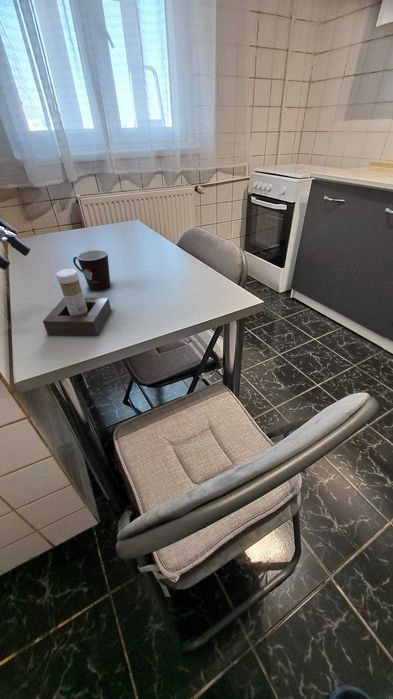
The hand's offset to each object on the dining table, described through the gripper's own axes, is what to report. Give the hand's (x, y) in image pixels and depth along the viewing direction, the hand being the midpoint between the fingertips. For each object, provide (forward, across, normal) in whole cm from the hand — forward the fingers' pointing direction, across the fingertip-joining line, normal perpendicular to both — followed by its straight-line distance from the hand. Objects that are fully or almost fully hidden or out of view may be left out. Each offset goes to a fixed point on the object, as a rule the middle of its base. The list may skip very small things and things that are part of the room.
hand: (18, 259), depth 65 cm
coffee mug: (+17, +22, +7) cm, 28 cm away
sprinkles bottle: (+19, 0, +5) cm, 19 cm away
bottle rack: (+19, 0, +4) cm, 19 cm away
